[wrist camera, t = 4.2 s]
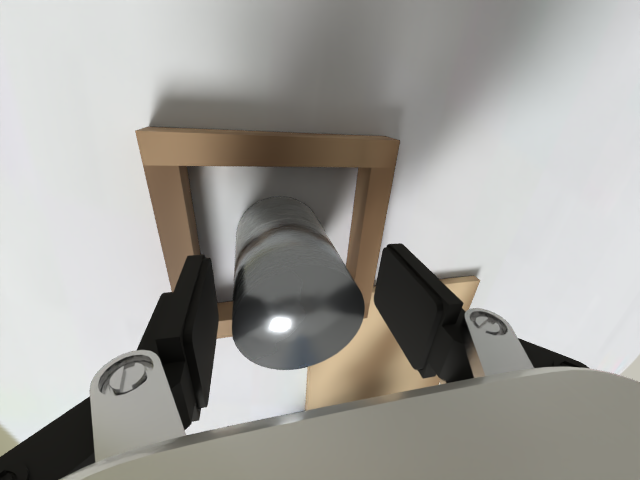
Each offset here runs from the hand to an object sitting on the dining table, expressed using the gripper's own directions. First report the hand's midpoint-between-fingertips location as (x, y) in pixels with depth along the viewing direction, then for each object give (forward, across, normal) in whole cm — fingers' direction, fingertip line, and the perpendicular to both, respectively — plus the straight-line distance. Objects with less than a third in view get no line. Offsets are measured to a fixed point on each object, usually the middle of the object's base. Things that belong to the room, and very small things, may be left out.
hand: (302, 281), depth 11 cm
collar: (+4, 0, 0) cm, 4 cm away
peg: (+4, 0, 0) cm, 4 cm away
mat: (+4, -8, +10) cm, 13 cm away
